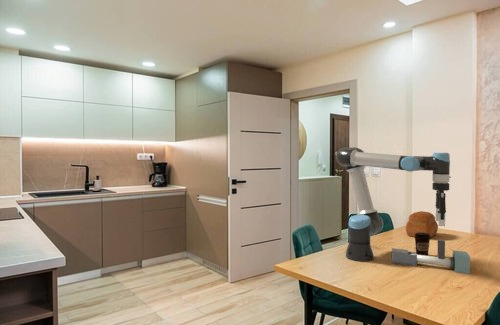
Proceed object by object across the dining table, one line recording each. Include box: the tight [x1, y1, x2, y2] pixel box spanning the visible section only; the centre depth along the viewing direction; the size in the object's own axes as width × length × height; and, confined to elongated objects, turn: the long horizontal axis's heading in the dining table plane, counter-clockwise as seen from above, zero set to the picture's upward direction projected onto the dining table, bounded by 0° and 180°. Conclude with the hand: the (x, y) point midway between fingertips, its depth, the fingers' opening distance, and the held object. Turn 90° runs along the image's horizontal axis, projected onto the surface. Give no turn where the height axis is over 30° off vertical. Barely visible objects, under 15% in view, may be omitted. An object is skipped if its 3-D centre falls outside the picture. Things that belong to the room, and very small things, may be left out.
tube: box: [411, 239, 455, 269], centre depth 167 cm, size 25×6×14 cm, turn 66°
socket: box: [452, 250, 471, 275], centre depth 163 cm, size 6×9×8 cm, turn 156°
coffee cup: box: [414, 232, 432, 256], centre depth 187 cm, size 9×8×13 cm
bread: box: [405, 210, 439, 238], centre depth 235 cm, size 18×22×17 cm
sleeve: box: [391, 248, 418, 267], centre depth 174 cm, size 12×6×7 cm, turn 66°
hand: (440, 223), depth 167 cm, fingers open, 13 cm apart
